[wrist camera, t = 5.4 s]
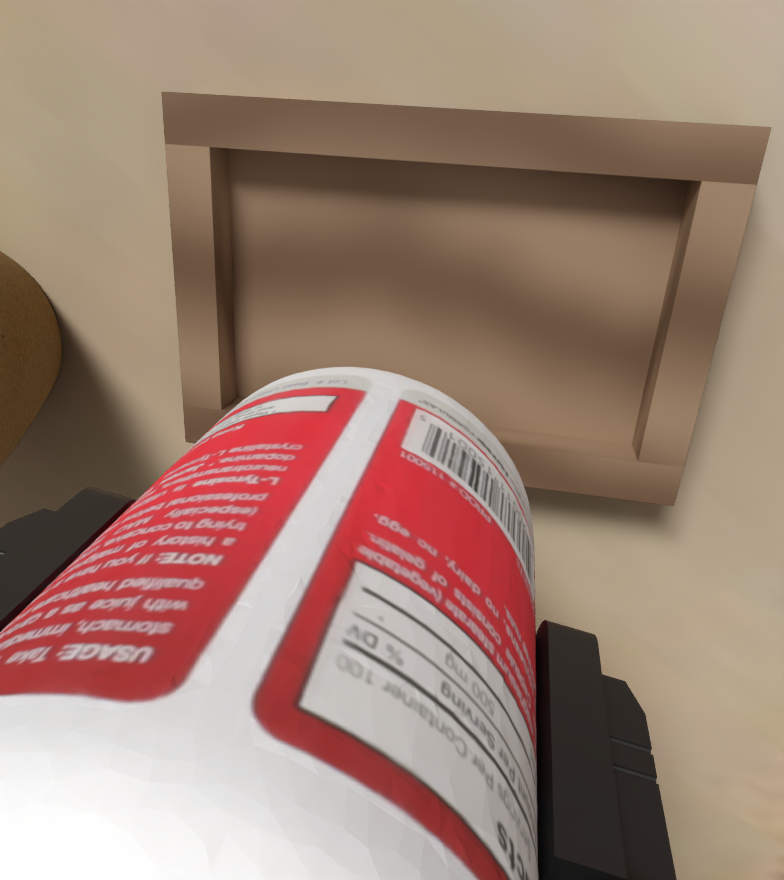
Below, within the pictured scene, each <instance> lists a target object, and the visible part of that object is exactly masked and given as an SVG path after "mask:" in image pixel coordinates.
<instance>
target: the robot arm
mask: <svg viewBox="0 0 784 880" xmlns="http://www.w3.org/2000/svg"><path fill="white" fill-rule="evenodd" d="M136 501H137V500H134V499H131V498H127V497H124V496H120V495H117V494H113V493H110V492H106V491H103V490H99V489H96V488H92V487H89V488H86V489H84V490H82V491H81V492H80V493H78V494H77V495H76V496H75V497H73V498H72V499H71V500H70V501H68V502H67V503H66V504H65V505H64V506H62V507H61V508H60V509H59V510H57V511H56V512H54V511H50V510H47V509H43V510H40V511H38V512H35V513H32V514H30V515H27V516H25V517H22V518H20V519H17V520H15V521H12V522H9V523H7V524H6V525H5V526H3V527H2V528H1V529H0V632H1V631H2V630H3V629H4V628H5V627H6V626H7V625H8V624H9V623H10V622H11V621H12V620H13V619H15V618H16V617H17V616H18V615H19V614H20V613H21V612H22V611H23V610H24V609H25V608H26V607H27V606H28V605H29V604H30V603H31V602H32V601H33V600H34V599H35V598H36V597H37V596H38V595H40V594H41V593H42V592H43V591H44V590H45V589H46V588H47V587H48V586H49V585H50V584H51V583H52V582H53V581H54V580H55V579H56V578H57V577H58V576H59V575H60V574H61V573H62V572H63V571H64V570H65V569H66V568H67V567H68V566H69V565H71V564H72V563H73V562H74V561H75V560H76V559H77V558H78V557H79V556H80V555H81V554H82V552H83V551H85V550H86V549H87V548H88V547H89V546H90V545H91V544H92V543H93V542H94V541H95V540H96V539H97V538H98V537H99V536H100V535H101V534H102V533H103V532H104V531H105V530H106V529H108V528H109V527H110V526H111V525H112V524H113V523H114V522H115V521H116V520H117V519H118V518H119V517H120V516H121V515H122V514H123V513H124V512H125V511H126V510H127V509H128V508H129V507H130V506H131V505H132V504H133V503H135V502H136ZM651 749H652V747H651V742H650V737H649V731H648V726H647V721H646V716H645V713H644V711H643V710H642V708H641V706H640V705H639V703H638V702H637V700H636V698H635V697H634V695H633V693H632V692H631V690H630V688H629V687H628V685H627V684H626V682H625V681H622V680H619V679H616V678H612V677H609V676H605V675H602V672H601V664H600V656H599V648H598V641H597V638H596V636H595V635H594V634H591V633H588V632H584V631H581V630H577V629H574V628H570V627H567V626H564V625H560V624H557V623H553V622H550V621H546V620H544V621H543V622H542V623H541V625H540V627H539V629H538V631H537V633H536V755H537V848H538V880H676V875H675V869H674V864H673V859H672V854H671V848H670V843H669V838H668V832H667V827H666V822H665V816H664V811H663V806H662V800H661V795H660V790H659V785H658V784H656V778H657V774H656V769H655V763H654V758H653V755H651Z"/></svg>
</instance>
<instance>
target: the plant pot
mask: <svg viewBox="0 0 784 880" xmlns="http://www.w3.org/2000/svg"><path fill="white" fill-rule="evenodd" d="M61 361H62V342H61V335H60V330H59V326H58V323H57V320H56V317H55V314H54V312H53V309H52V307H51V305H50V303H49V301H48V299H47V298H46V296H45V294H44V293H43V291H42V290H41V288H40V287H39V286H38V284H37V283H36V282H35V280H34V279H33V278H32V277H31V276H30V275H29V274H28V273H27V272H26V271H25V270H24V269H23V268H22V267H21V266H20V265H19V264H17V263H16V262H15V261H14V260H12V259H11V258H9V257H8V256H7V255H5V254H4V253H2V252H1V251H0V467H1V466H2V464H3V463H4V462H5V460H6V459H7V458H8V456H9V455H10V454H11V452H12V451H13V450H14V448H15V447H16V446H17V444H18V443H19V441H20V440H21V438H22V437H23V435H24V434H25V432H26V431H27V429H28V428H29V426H30V424H31V423H32V421H33V420H34V418H35V417H36V415H37V414H38V412H39V410H40V409H41V407H42V405H43V404H44V402H45V400H46V399H47V397H48V395H49V394H50V392H51V390H52V388H53V386H54V384H55V382H56V379H57V377H58V375H59V371H60V367H61Z"/></svg>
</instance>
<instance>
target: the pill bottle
mask: <svg viewBox="0 0 784 880" xmlns="http://www.w3.org/2000/svg"><path fill="white" fill-rule="evenodd" d="M0 880H538V848H537V755H536V629H535V557H534V536H533V526H532V516H531V511H530V506H529V501H528V497H527V494H526V491H525V488H524V485H523V482H522V480H521V477H520V475H519V473H518V471H517V469H516V467H515V465H514V463H513V461H512V460H511V458H510V456H509V455H508V453H507V452H506V450H505V449H504V447H503V446H502V445H501V443H500V442H499V441H498V439H497V438H496V437H495V436H494V435H493V434H492V433H491V431H490V430H489V429H488V428H487V427H486V426H485V425H484V424H483V423H482V422H481V421H480V420H479V419H478V418H477V417H475V416H474V415H473V414H472V413H471V412H470V411H469V410H468V409H466V408H465V407H463V406H462V405H461V404H459V403H458V402H456V401H455V400H454V399H452V398H451V397H449V396H447V395H446V394H444V393H442V392H441V391H439V390H437V389H435V388H433V387H431V386H428V385H426V384H424V383H422V382H419V381H416V380H413V379H410V378H408V377H405V376H402V375H399V374H395V373H391V372H387V371H382V370H376V369H371V368H360V367H330V368H321V369H315V370H310V371H305V372H301V373H296V374H293V375H290V376H287V377H284V378H281V379H279V380H276V381H274V382H272V383H270V384H268V385H266V386H265V387H263V388H261V389H259V390H258V391H256V392H254V393H253V394H251V395H250V396H248V397H247V398H246V399H244V400H243V401H242V402H241V403H239V404H238V405H237V406H236V407H235V408H233V409H232V410H231V411H230V412H229V413H227V414H226V415H225V416H224V417H223V418H222V419H220V420H219V421H218V422H217V423H216V424H215V425H214V426H213V427H212V428H211V429H210V430H209V431H208V432H207V433H206V434H204V435H203V436H202V437H201V438H200V439H199V440H198V441H197V442H196V443H195V444H194V445H193V446H192V447H191V448H190V449H189V450H188V451H187V452H186V453H185V454H184V455H183V456H182V457H181V458H180V459H179V460H178V461H176V463H175V464H174V465H173V466H172V467H171V468H169V469H168V470H167V471H166V472H165V473H164V474H163V475H162V476H161V477H160V478H159V479H158V480H157V481H156V482H155V483H154V484H153V485H152V486H151V487H150V488H149V489H148V490H147V491H146V492H145V493H144V494H143V495H142V496H141V497H140V498H139V499H138V500H137V501H136V502H135V503H133V504H132V505H131V506H130V507H129V508H128V509H127V510H126V511H125V512H124V513H123V514H122V515H121V516H120V517H119V518H118V519H117V520H116V521H115V522H114V523H113V524H112V525H111V526H110V527H109V528H108V529H106V530H105V531H104V532H103V533H102V534H101V535H100V536H99V537H98V538H97V539H96V540H95V541H94V542H93V543H92V544H91V545H90V546H89V547H88V548H87V549H86V550H85V551H83V552H82V554H81V555H80V556H79V557H78V558H77V559H76V560H75V561H74V562H73V563H72V564H71V565H69V566H68V567H67V568H66V569H65V570H64V571H63V572H62V573H61V574H60V575H59V576H58V577H57V578H56V579H55V580H54V581H53V582H52V583H51V584H50V585H49V586H48V587H47V588H46V589H45V590H44V591H43V592H42V593H41V594H40V595H38V596H37V597H36V598H35V599H34V600H33V601H32V602H31V603H30V604H29V605H28V606H27V607H26V608H25V609H24V610H23V611H22V612H21V613H20V614H19V615H18V616H17V617H16V618H15V619H13V620H12V621H11V622H10V623H9V624H8V625H7V626H6V627H5V628H4V629H3V630H2V631H1V632H0Z"/></svg>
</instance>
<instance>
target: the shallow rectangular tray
mask: <svg viewBox="0 0 784 880" xmlns="http://www.w3.org/2000/svg"><path fill="white" fill-rule="evenodd" d="M162 105H163V120H164V134H165V149H166V163H167V178H168V192H169V207H170V221H171V236H172V250H173V265H174V279H175V294H176V308H177V323H178V337H179V352H180V366H181V381H182V395H183V410H184V424H185V439H186V442H189V443H196V442H197V441H198V440H199V439H200V438H201V437H202V436H203V435H204V434H206V433H207V432H208V431H209V430H210V429H211V428H212V427H213V426H214V425H215V424H216V423H217V422H218V421H219V420H220V419H222V418H223V417H224V416H225V415H226V414H227V413H229V412H230V411H231V410H232V409H233V408H235V407H236V406H237V405H238V404H239V403H241V402H242V401H243V400H244V399H246V398H247V397H248V396H250V395H251V394H253V393H254V392H256V391H258V390H259V389H261V388H263V387H265V386H266V385H268V384H270V383H272V382H274V381H276V380H279V379H281V378H284V377H287V376H290V375H293V374H296V373H301V372H305V371H310V370H315V369H321V368H330V367H360V368H371V369H376V370H382V371H387V372H391V373H395V374H399V375H402V376H405V377H408V378H410V379H413V380H416V381H419V382H422V383H424V384H426V385H428V386H431V387H433V388H435V389H437V390H439V391H441V392H442V393H444V394H446V395H447V396H449V397H451V398H452V399H454V400H455V401H456V402H458V403H459V404H461V405H462V406H463V407H465V408H466V409H468V410H469V411H470V412H471V413H472V414H473V415H474V416H475V417H477V418H478V419H479V420H480V421H481V422H482V423H483V424H484V425H485V426H486V427H487V428H488V429H489V430H490V431H491V433H492V434H493V435H494V436H495V437H496V438H497V439H498V441H499V442H500V443H501V445H502V446H503V447H504V449H505V450H506V452H507V453H508V455H509V456H510V458H511V460H512V461H513V463H514V465H515V467H516V469H517V471H518V473H519V475H520V477H521V480H522V482H523V485H524V487H532V488H540V489H547V490H555V491H563V492H570V493H578V494H585V495H593V496H601V497H608V498H616V499H623V500H631V501H639V502H646V503H654V504H662V505H669V506H674V503H675V499H676V496H677V492H678V488H679V484H680V480H681V476H682V472H683V468H684V465H685V461H686V457H687V453H688V449H689V445H690V441H691V437H692V434H693V430H694V426H695V422H696V418H697V414H698V410H699V406H700V403H701V399H702V395H703V391H704V387H705V383H706V379H707V375H708V372H709V368H710V364H711V360H712V356H713V352H714V348H715V344H716V341H717V337H718V333H719V329H720V325H721V321H722V317H723V313H724V310H725V306H726V302H727V298H728V294H729V290H730V286H731V282H732V279H733V275H734V271H735V267H736V263H737V259H738V255H739V251H740V248H741V244H742V240H743V236H744V232H745V228H746V224H747V220H748V217H749V213H750V209H751V205H752V201H753V197H754V193H755V189H756V186H757V182H758V178H759V174H760V170H761V166H762V162H763V158H764V155H765V151H766V147H767V143H768V139H769V135H770V131H771V127H758V126H741V125H724V124H707V123H690V122H673V121H655V120H638V119H621V118H604V117H587V116H570V115H553V114H535V113H518V112H501V111H484V110H467V109H450V108H433V107H416V106H398V105H381V104H364V103H347V102H330V101H313V100H296V99H278V98H261V97H244V96H227V95H210V94H193V93H176V92H162Z"/></svg>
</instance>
